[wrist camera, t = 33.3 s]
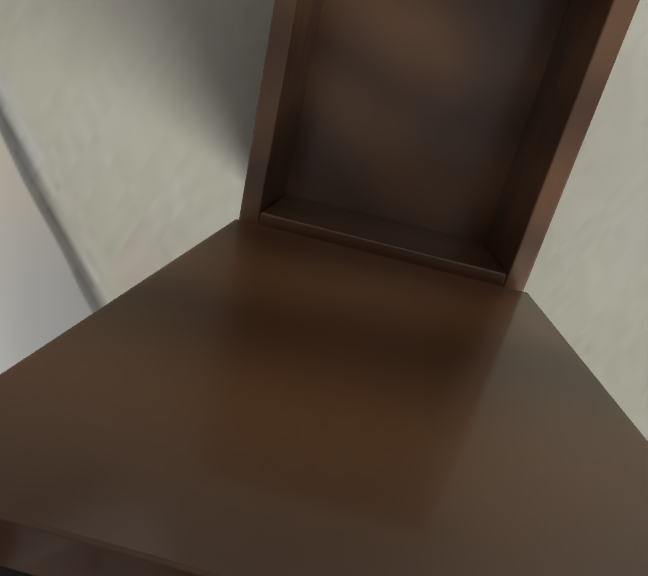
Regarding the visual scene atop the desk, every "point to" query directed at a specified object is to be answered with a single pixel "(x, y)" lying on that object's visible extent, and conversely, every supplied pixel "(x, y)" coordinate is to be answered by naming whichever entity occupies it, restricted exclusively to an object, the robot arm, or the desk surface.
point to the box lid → (316, 428)
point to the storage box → (428, 125)
